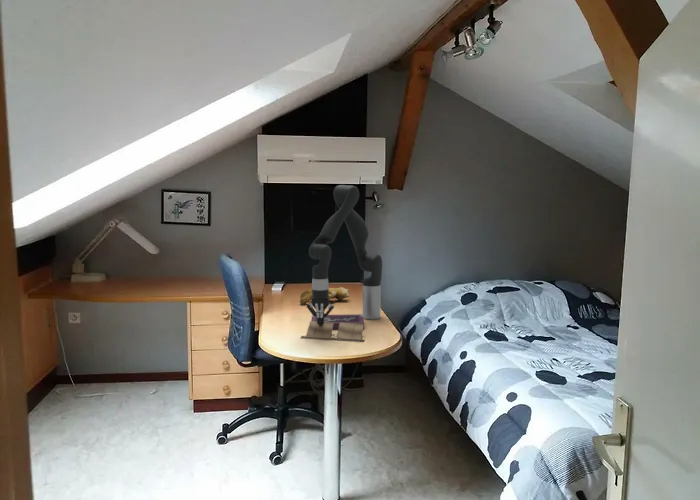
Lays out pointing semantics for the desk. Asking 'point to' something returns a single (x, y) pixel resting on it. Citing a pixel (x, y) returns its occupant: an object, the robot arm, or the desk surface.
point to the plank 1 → (320, 329)
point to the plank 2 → (350, 330)
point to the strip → (332, 339)
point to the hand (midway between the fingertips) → (320, 325)
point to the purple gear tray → (342, 319)
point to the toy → (333, 293)
